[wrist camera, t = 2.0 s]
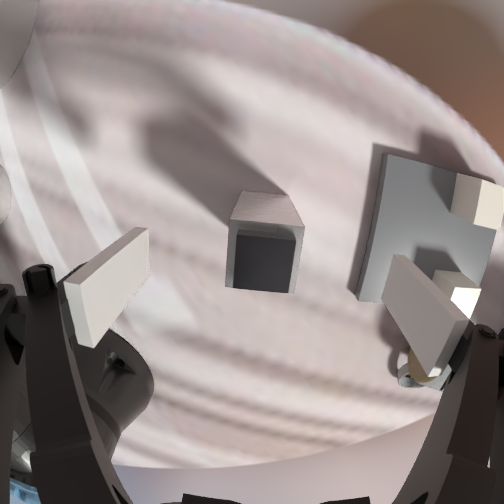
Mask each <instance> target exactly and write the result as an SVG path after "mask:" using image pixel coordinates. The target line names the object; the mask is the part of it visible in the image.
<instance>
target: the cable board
mask: <svg viewBox="0 0 504 504" xmlns="http://www.w3.org/2000/svg"><path fill="white" fill-rule="evenodd" d="M503 213H504V187H501V186H499V185H496V184H493V183H491V182H488V181H485V180H483V179H479V178H475V177H472V176H468V175H464V174H459V173H456V172H453V171H449V170H446V169H443V168H439V167H436V166H433V165H429V164H425V163H422V162H418V161H414V160H411V159H407V158H403V157H399V156H394V155H390V154H383V156H382V164H381V171H380V178H379V184H378V191H377V197H376V202H375V208H374V214H373V219H372V224H371V229H370V234H369V239H368V243H367V248H366V253H365V257H364V261H363V265H362V270H361V274H360V278H359V282H358V286H357V289H356V293H355V296H356V298H357V300H358V301H361V302H380V303H383V301H382V300H381V296H382V293H383V289H384V286H385V283H386V279H387V276H388V272H389V268H390V265H391V261H392V257H393V254H399V255H405V256H406V257H407V258H408V259H410V260H411V261H412V262H413V263H414V264H415V265H416V266H417V267H418V268H419V269H420V270H421V271H422V272H423V273H424V274H425V275H426V276H427V277H428V278H429V279H430V280H431V281H432V282H433V283H434V284H435V285H436V286H437V287H438V288H439V289H440V290H441V291H442V292H443V293H444V294H445V295H446V296H447V297H448V298H449V299H450V300H451V301H453V302H454V303H455V304H456V306H457V307H458V308H459V309H460V310H461V311H462V312H463V313H464V314H465V315H466V316H467V317H468V318H469V319H470V317H471V315H472V312H473V310H474V307H475V305H476V302H477V300H478V297H479V295H480V292H481V288H480V284H481V281H482V278H483V275H484V272H485V269H486V266H487V263H488V259H489V256H490V253H491V249H492V246H493V242H494V238H495V234H496V230H500V226H501V222H502V217H503Z"/></svg>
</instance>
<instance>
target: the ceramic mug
mask: <svg viewBox="0 0 504 504" xmlns="http://www.w3.org/2000/svg"><path fill="white" fill-rule="evenodd" d="M451 370H452V369H451V368H450V366H449V364H448V365H447V367H446V368H445V370H444V372H443V374H442V375H441V376H433V377H428V376H427V375H426V373H425V371H424V369H423V367H422V366H421V364H420V362H419V360H418V359H417V357H416V355H415V353H414V352H413V350H412V348H410V350H409V354H408V363H406V364H405V365H403V366H402V367H401V368H400V369H399V370H398V383H399V385H401V386H403V387H406V388H420V387H425V386H426V387H429V388H433V389H436V390H439V391H441V390H440V389H441V387H442V385H443V384H444V382H445V380H446V379H447V377H448V375H449V374H450V372H451ZM409 373H410V375H411V377H412V378H408V377H406V376H405V375H407V374H409ZM443 390H444V389H443ZM443 390H442V391H441V392H443Z"/></svg>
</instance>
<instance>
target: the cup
mask: <svg viewBox="0 0 504 504" xmlns="http://www.w3.org/2000/svg"><path fill="white" fill-rule="evenodd" d="M10 207H11V187H10V182H9V179H8V176H7V173H6V171H5V170H4V168H3V167H2V166H1V165H0V224H1V223H3V222H4V221H5V220H6V218H7V217H8V214H9V211H10Z"/></svg>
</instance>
